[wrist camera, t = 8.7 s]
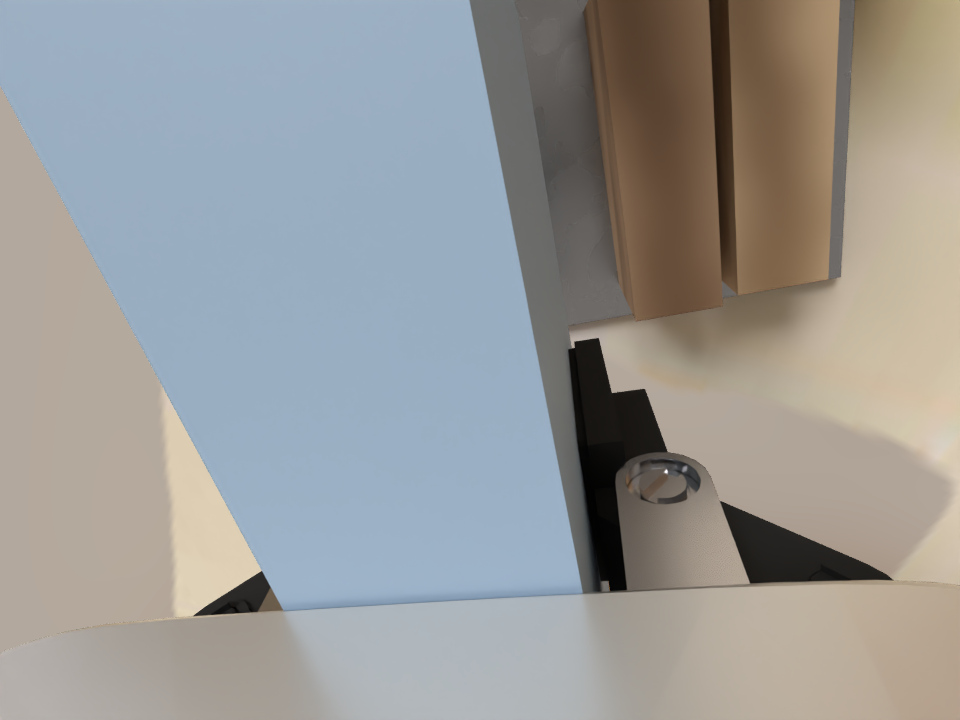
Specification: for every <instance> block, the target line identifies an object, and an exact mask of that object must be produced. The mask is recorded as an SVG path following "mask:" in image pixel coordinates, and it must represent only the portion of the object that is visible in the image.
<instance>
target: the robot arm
mask: <svg viewBox="0 0 960 720" xmlns="http://www.w3.org/2000/svg"><path fill="white" fill-rule="evenodd" d="M574 343H575V348H572V349H568V352H569V362H570V372H571V382H572V392H573V402H574V412H575V422H576V432H577V441H578V449H579V456H580V462H581V468H582V474H583V480H584V486H585V492H586V498H587V504H588V510H589V516H590V521H591V527H592V533H593V539H594V545H595V551H596V557H597V563H598V569H599V575H600V580H601V582H602V581H609V587H610V591H604V592H585V593H583V594H564V595H545V596H528V597H510V598H493V599H476V600H459V601H442V602H425V603H408V604H392V605H375V606H359V607H342V608H325V609H308V610H293V611H283V609H282V607H281V605H280V603H279V601H278V600H277V598H276V596H275V594H274V592H273V590H272V588H271V587H270V585H269V583H268V581H267V579H266V577H265V575H264V574H263V572H262V571H261V572H259V573H258V574H256V575H255V576H253V577H252V578H250V579H248V580H247V581H245V582H244V583H242V584H240V585H239V586H237V587H236V588H234V589H233V590H231V591H229V592H228V593H226V594H225V595H223V596H221V597H220V598H218V599H217V600H215V601H214V602H212V603H210V604H209V605H207V606H206V607H204V608H203V609H202V610H200V611H199V612H198V613H196V614H195V615H194V616H191V617H175V618H162V619H152V620H143V621H133V622H123V623H114V624H104V625H98V626H93V627H87V628H82V629H76V630H71V631H66V632H62V633H58V634H55V635H51V636H48V637H44V638H41V639H37V640H33V641H30V642H28V643H25V644H22V645H19V646H17V647H14V648H12V649H9V650H7V651H4V652H2V653H0V720H960V585H953V584H945V583H936V582H916V581H894V580H892V579H891V578H890V577H889V576H888V575H886V574H884V573H883V572H881V571H879V570H877V569H875V568H873V567H871V566H870V565H868V564H866V563H863V562H861V561H859V560H856V559H854V558H852V557H849V556H847V555H845V554H842V553H840V552H838V551H835V550H833V549H831V548H828V547H826V546H824V545H822V544H819V543H817V542H815V541H812V540H810V539H807V538H805V537H803V536H801V535H798V534H796V533H794V532H791V531H789V530H787V529H784V528H782V527H780V526H777V525H775V524H773V523H770V522H768V521H765V520H763V519H761V518H759V517H756V516H754V515H752V514H749V513H747V512H745V511H742V510H740V509H738V508H735V507H733V506H730V505H728V504H726V503H724V502H721V501H720V500H719V498H718V495H717V493H716V490H715V487H714V484H713V482H712V479H711V476H710V475H709V473H708V471H707V470H706V468H705V467H704V466H702V465H701V464H700V463H698V462H697V461H696V460H694V459H691V458H689V457H686V456H684V455H680V454H675V453H669V452H667V449H666V446H665V443H664V441H663V438H662V435H661V432H660V429H659V427H658V424H657V421H656V418H655V415H654V413H653V410H652V407H651V405H650V402H649V399H648V396H647V393H646V391H645V389H640V390H632V391H625V392H617V393H612V392H611V388H610V384H609V380H608V375H607V371H606V367H605V363H604V358H603V354H602V350H601V346H600V341H599V338H596V339H589V340H583V341H576V342H574Z"/></svg>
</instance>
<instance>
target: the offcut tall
mask: <svg viewBox="0 0 960 720" xmlns="http://www.w3.org/2000/svg"><path fill="white" fill-rule="evenodd" d="M583 12H584V20H585V27H586V35H587V43H588V50H589V58H590V66H591V73H592V81H593V89H594V96H595V104H596V112H597V119H598V127H599V135H600V142H601V150H602V158H603V165H604V173H605V181H606V188H607V196H608V204H609V211H610V219H611V227H612V234H613V242H614V250H615V257H616V265H617V273H618V280H619V286H620V288H621V290H622V292H623V294H624V296H625V299H626V301H627V303H628V305H629V307H630V309H631V312H632V314H633V316H634V318H635V320H636V321H642V320H647V319H653V318H659V317H664V316H670V315H676V314H682V313H687V312H693V311H699V310H704V309H710V308H716V307H721V306H723V299H722V277H721V255H720V233H719V211H718V190H717V168H716V146H715V124H714V102H713V80H712V59H711V37H710V15H709V0H588V1H587V4H586V6H585V8H584V11H583Z"/></svg>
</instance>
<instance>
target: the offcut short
mask: <svg viewBox="0 0 960 720" xmlns="http://www.w3.org/2000/svg"><path fill="white" fill-rule="evenodd" d="M839 10H840V0H709V15H710V37H711V59H712V80H713V102H714V124H715V146H716V168H717V190H718V211H719V233H720V255H721V277H722V281H723V282H724V283H725V284H726V285H727V286H728V287H729V288H730V289H731V290H733V291H734V292H735V293H736V294H737V295H744V294H749V293H755V292H760V291H766V290H772V289H777V288H783V287H788V286H794V285H800V284H805V283H811V282H816V281H822V280H828V274H829V250H830V226H831V202H832V178H833V154H834V130H835V106H836V82H837V58H838V34H839Z"/></svg>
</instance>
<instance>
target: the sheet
mask: <svg viewBox="0 0 960 720" xmlns="http://www.w3.org/2000/svg"><path fill="white" fill-rule="evenodd" d="M0 86H1V88H2V90H3V91H4V94H5V95H6V97H7V99H8V101H9V103H10V105H11V107H12V108H13V110H14V112H15V114H16V116H17V118H18V119H19V121H20V123H21V125H22V127H23V129H24V130H25V132H26V134H27V136H28V138H29V140H30V142H31V144H32V145H33V147H34V149H35V151H36V153H37V155H38V157H39V158H40V160H41V162H42V164H43V166H44V168H45V169H46V171H47V173H48V175H49V177H50V179H51V181H52V182H53V184H54V186H55V188H56V190H57V192H58V194H59V195H60V197H61V199H62V201H63V203H64V205H65V206H66V208H67V210H68V212H69V214H70V216H71V218H72V220H73V221H74V223H75V225H76V227H77V228H78V231H79V232H80V234H81V236H82V238H83V240H84V242H85V244H86V246H87V247H88V249H89V251H90V253H91V255H92V257H93V259H94V260H95V262H96V264H97V266H98V268H99V270H100V271H101V273H102V275H103V277H104V279H105V281H106V282H107V284H108V286H109V288H110V290H111V292H112V294H113V296H114V297H115V299H116V301H117V303H118V305H119V306H120V309H121V310H122V312H123V314H124V316H125V318H126V320H127V321H128V323H129V325H130V327H131V329H132V331H133V333H134V335H135V336H136V338H137V340H138V342H139V343H140V345H141V347H142V349H143V351H144V353H145V355H146V357H147V358H148V360H149V362H150V364H151V366H152V368H153V370H154V372H155V373H156V375H157V377H158V379H159V381H160V383H161V385H162V386H163V388H164V390H165V392H166V394H167V396H168V398H169V399H170V401H171V403H172V405H173V407H174V409H175V410H176V412H177V414H178V416H179V418H180V420H181V422H182V423H183V425H184V427H185V429H186V431H187V433H188V435H189V436H190V438H191V440H192V442H193V444H194V446H195V448H196V449H197V451H198V453H199V455H200V457H201V459H202V461H203V462H204V464H205V466H206V468H207V470H208V472H209V473H210V475H211V477H212V479H213V481H214V483H215V485H216V486H217V488H218V490H219V492H220V494H221V496H222V498H223V499H224V501H225V503H226V505H227V507H228V509H229V511H230V512H231V514H232V516H233V518H234V520H235V522H236V524H237V525H238V527H239V529H240V531H241V533H242V535H243V536H244V538H245V540H246V542H247V544H248V546H249V548H250V549H251V551H252V553H253V555H254V557H255V559H256V561H257V562H258V564H259V566H260V568H261V570H262V572H263V574H264V575H265V577H266V579H267V581H268V583H269V585H270V587H271V588H272V590H273V592H274V594H275V596H276V598H277V600H278V601H279V603H280V605H281V607H282V609H283V611H293V610H308V609H325V608H342V607H359V606H375V605H392V604H408V603H425V602H442V601H459V600H476V599H493V598H510V597H528V596H545V595H564V594H583V593H585V592H604V591H609V585H608V581H602V582H601V580H600V575H599V569H598V563H597V557H596V551H595V545H594V539H593V533H592V527H591V521H590V516H589V510H588V504H587V498H586V492H585V486H584V480H583V474H582V468H581V462H580V456H579V449H578V441H577V432H576V422H575V412H574V402H573V392H572V382H571V372H570V362H569V352H568V349H572V347H571V341H570V335H569V329H568V322H567V316H566V310H565V304H564V297H563V291H562V285H561V279H560V272H559V266H558V260H557V254H556V247H555V241H554V235H553V229H552V222H551V216H550V210H549V204H548V197H547V191H546V185H545V179H544V172H543V166H542V160H541V154H540V147H539V141H538V135H537V129H536V122H535V116H534V110H533V104H532V97H531V91H530V85H529V79H528V72H527V66H526V60H525V54H524V47H523V41H522V35H521V29H520V22H519V16H518V13H517V9H516V5H515V2H514V0H0Z"/></svg>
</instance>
